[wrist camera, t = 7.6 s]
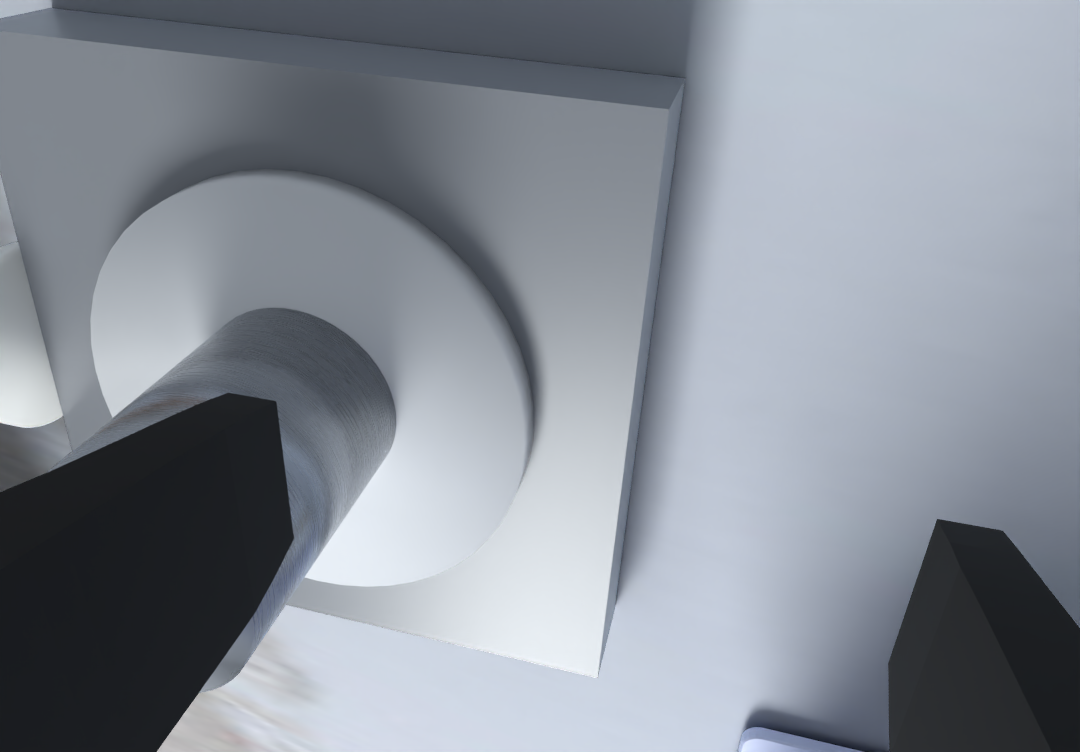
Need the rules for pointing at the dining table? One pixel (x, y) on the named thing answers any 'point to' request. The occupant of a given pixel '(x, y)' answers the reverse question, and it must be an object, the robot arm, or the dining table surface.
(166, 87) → the kitchen scale
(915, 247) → the dining table surface
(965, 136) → the dining table surface
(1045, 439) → the dining table surface
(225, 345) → the cylinder
